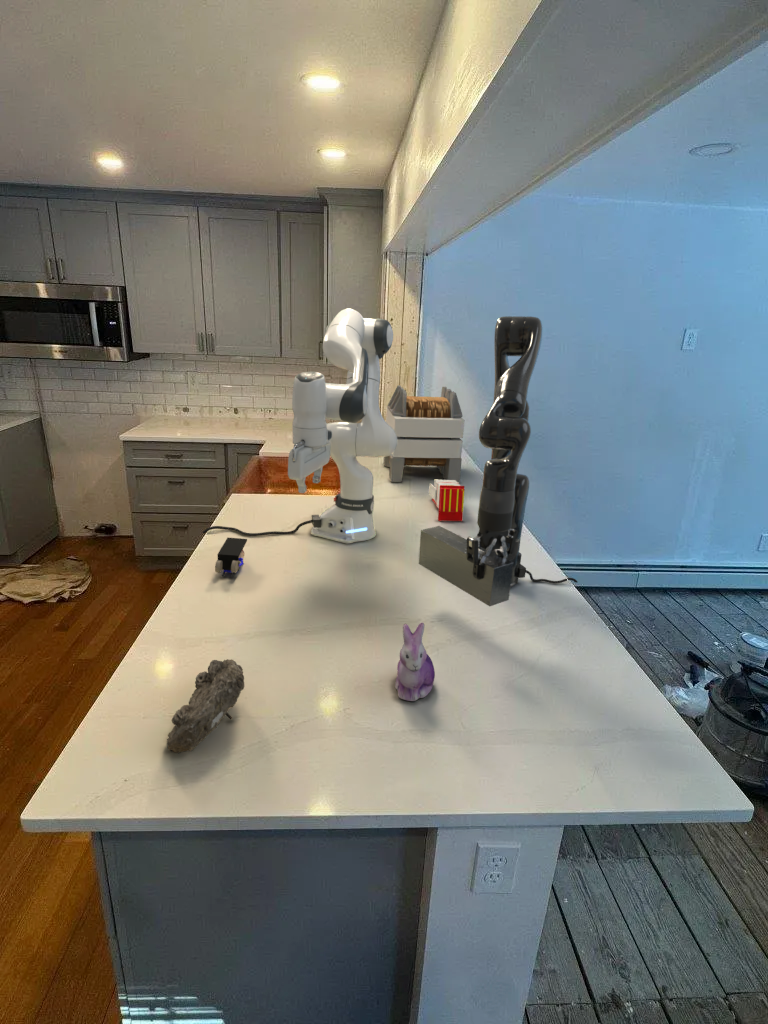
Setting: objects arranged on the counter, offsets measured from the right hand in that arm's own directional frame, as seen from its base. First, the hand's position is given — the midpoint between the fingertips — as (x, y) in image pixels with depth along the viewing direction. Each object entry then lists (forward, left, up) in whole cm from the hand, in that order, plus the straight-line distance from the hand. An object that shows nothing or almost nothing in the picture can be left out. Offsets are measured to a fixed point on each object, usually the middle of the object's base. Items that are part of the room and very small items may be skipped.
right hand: (488, 574), depth 131 cm
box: (+2, -8, -5) cm, 10 cm away
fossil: (+63, +9, -18) cm, 66 cm away
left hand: (+32, -41, +11) cm, 53 cm away
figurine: (+23, +12, -18) cm, 31 cm away
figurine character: (+52, -55, -18) cm, 78 cm away
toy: (-34, -89, -18) cm, 97 cm away
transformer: (-45, -140, -18) cm, 148 cm away
